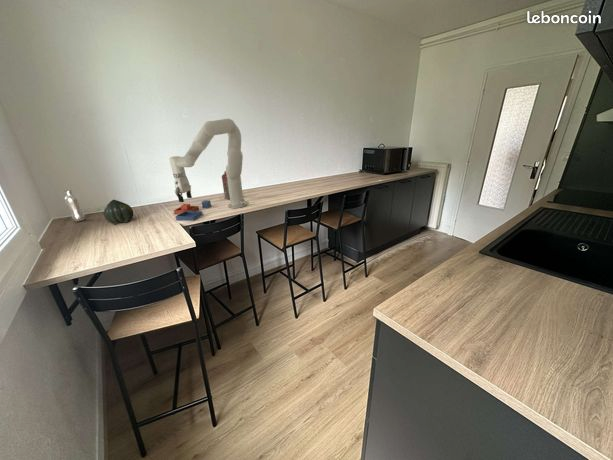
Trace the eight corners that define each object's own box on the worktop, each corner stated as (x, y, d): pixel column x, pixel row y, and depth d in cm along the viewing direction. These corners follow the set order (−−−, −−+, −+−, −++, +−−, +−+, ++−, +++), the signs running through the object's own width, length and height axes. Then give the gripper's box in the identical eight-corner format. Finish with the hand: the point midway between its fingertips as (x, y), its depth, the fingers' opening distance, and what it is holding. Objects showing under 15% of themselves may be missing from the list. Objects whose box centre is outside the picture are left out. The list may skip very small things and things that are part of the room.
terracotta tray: (199, 209, 182) (198, 206, 181) (190, 214, 172) (189, 210, 171) (183, 208, 184) (182, 205, 183) (174, 213, 174) (173, 210, 173)
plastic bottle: (89, 219, 165) (77, 189, 157) (77, 223, 159) (65, 192, 151) (82, 218, 167) (71, 189, 159) (70, 222, 161) (58, 191, 153)
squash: (123, 218, 150) (125, 195, 155) (96, 220, 148) (99, 198, 153) (136, 226, 164) (138, 205, 168) (112, 228, 162) (114, 207, 166)
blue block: (211, 206, 189) (210, 200, 187) (208, 207, 185) (207, 202, 183) (205, 206, 190) (204, 200, 188) (202, 207, 186) (201, 201, 184)
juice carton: (231, 196, 213) (227, 170, 205) (236, 197, 210) (233, 171, 201) (224, 198, 208) (220, 171, 200) (230, 199, 205) (226, 172, 196)
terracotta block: (191, 209, 179) (190, 203, 178) (187, 212, 175) (186, 205, 174) (185, 209, 180) (184, 203, 178) (181, 211, 176) (180, 205, 174)
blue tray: (202, 214, 171) (202, 211, 170) (193, 220, 160) (193, 217, 159) (186, 214, 172) (185, 210, 171) (176, 220, 162) (175, 216, 161)
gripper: (177, 178, 160) (183, 203, 167) (191, 172, 175) (197, 196, 182) (166, 178, 161) (173, 203, 168) (182, 173, 176) (187, 196, 183)
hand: (185, 200), depth 175 cm, fingers open, 9 cm apart
